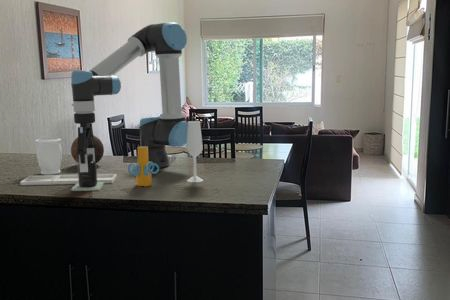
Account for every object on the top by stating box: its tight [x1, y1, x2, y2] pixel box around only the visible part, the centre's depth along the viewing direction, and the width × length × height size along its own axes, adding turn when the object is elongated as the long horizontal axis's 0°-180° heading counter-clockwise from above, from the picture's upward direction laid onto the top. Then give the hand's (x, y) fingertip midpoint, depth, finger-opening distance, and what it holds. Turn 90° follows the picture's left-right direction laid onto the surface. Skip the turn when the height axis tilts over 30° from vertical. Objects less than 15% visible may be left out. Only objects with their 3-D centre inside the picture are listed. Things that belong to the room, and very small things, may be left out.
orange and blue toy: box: [127, 145, 160, 187], centre depth 179 cm, size 12×10×15 cm
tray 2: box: [97, 173, 118, 184], centre depth 188 cm, size 11×11×1 cm
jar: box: [35, 137, 63, 175], centre depth 202 cm, size 11×10×15 cm
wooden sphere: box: [70, 135, 105, 164], centre depth 219 cm, size 15×15×15 cm
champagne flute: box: [185, 120, 204, 183], centre depth 186 cm, size 7×7×24 cm
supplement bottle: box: [77, 154, 98, 187], centre depth 175 cm, size 7×7×12 cm
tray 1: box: [19, 174, 59, 186], centre depth 186 cm, size 11×11×1 cm
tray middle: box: [51, 174, 79, 186], centre depth 187 cm, size 11×11×1 cm
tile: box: [70, 182, 105, 192], centre depth 176 cm, size 10×10×1 cm
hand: (87, 168), depth 175 cm, fingers open, 13 cm apart
